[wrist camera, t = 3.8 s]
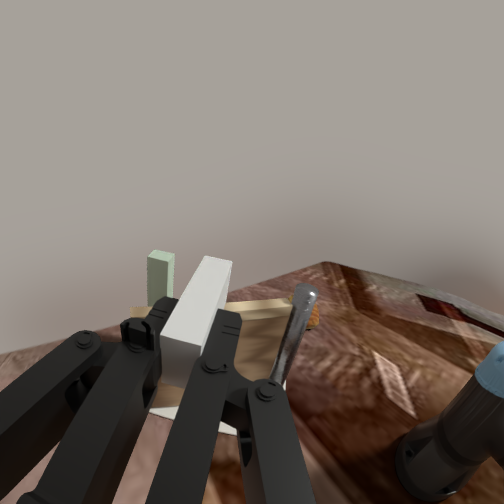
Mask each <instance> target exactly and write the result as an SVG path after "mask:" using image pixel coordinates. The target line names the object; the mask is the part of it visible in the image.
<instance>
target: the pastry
mask: <svg viewBox="0 0 504 504" xmlns="http://www.w3.org/2000/svg"><path fill="white" fill-rule="evenodd" d="M292 298H293V295H292V296H290V297H289V298H288V300H289V302H290V303H291V302H292ZM318 315H319V312H318V308H317V305H316V304H315V305H314V307H313V310H312V313H311V316H310V319H309V321H308V324H307V327H306V329H313V328H315V327H316V326H317V325H318V324H319V316H318Z"/></svg>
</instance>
